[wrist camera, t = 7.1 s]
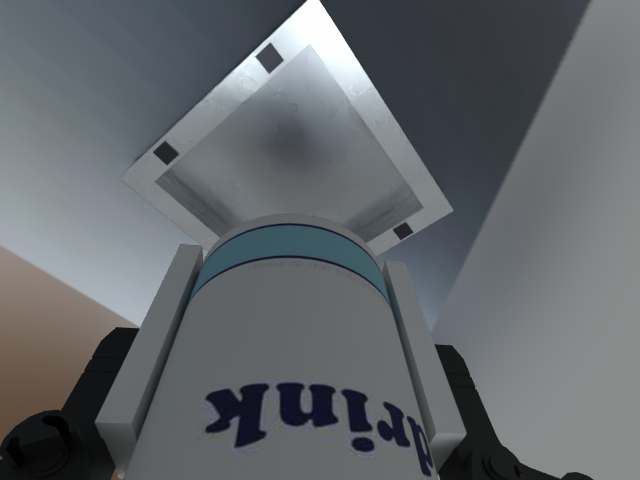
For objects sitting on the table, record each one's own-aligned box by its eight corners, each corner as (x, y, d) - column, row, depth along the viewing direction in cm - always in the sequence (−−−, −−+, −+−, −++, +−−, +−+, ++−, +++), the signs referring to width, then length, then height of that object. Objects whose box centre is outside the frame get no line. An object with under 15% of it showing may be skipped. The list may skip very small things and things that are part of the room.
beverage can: (409, 232, 14) (681, 865, 4) (336, 344, 17) (378, 816, 7) (231, 171, 12) (-117, 1029, 2) (190, 308, 15) (-6, 861, 6)
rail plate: (133, 162, 20) (118, 179, 19) (313, -7, 16) (315, -6, 14) (284, 291, 26) (282, 312, 25) (442, 194, 22) (454, 211, 21)
